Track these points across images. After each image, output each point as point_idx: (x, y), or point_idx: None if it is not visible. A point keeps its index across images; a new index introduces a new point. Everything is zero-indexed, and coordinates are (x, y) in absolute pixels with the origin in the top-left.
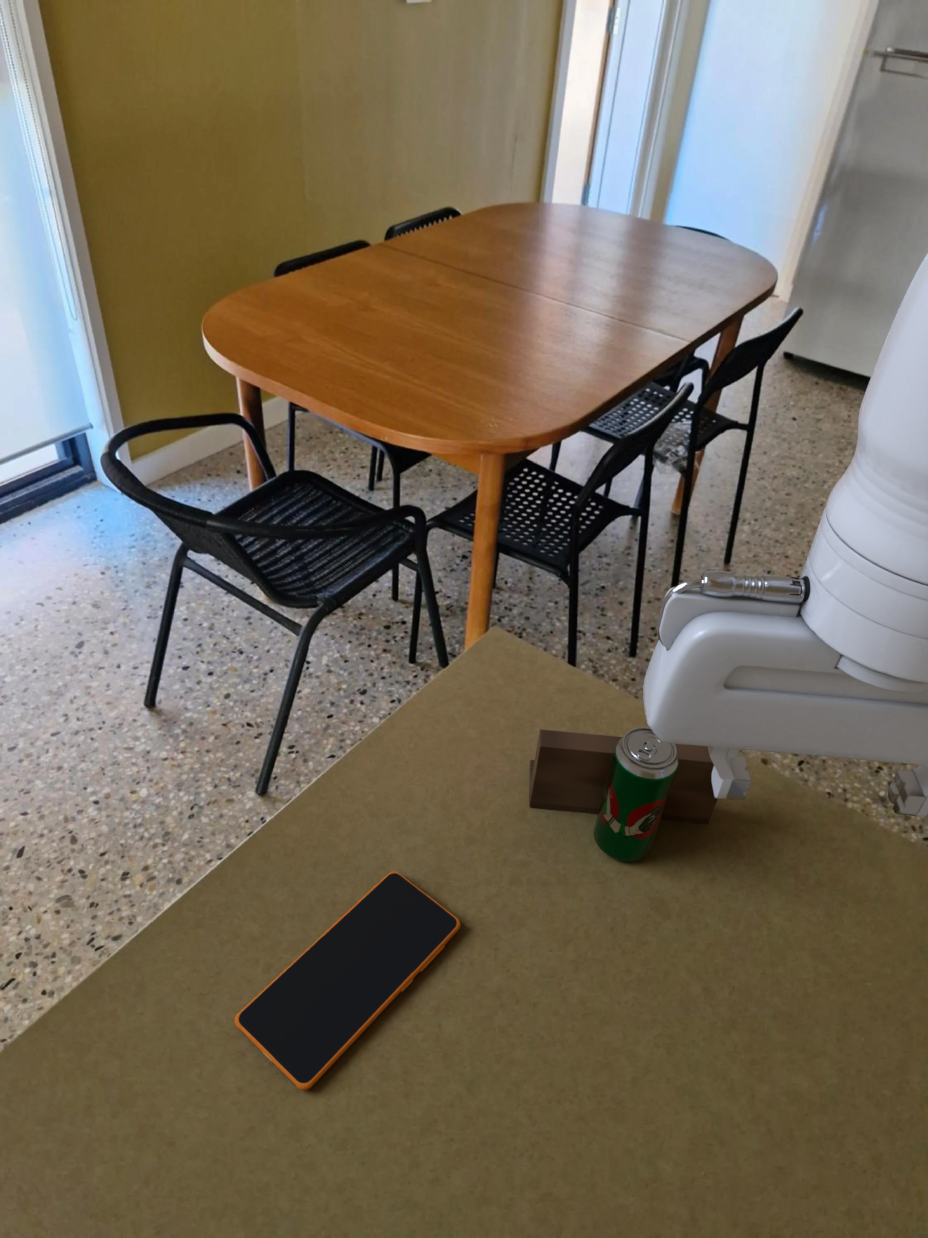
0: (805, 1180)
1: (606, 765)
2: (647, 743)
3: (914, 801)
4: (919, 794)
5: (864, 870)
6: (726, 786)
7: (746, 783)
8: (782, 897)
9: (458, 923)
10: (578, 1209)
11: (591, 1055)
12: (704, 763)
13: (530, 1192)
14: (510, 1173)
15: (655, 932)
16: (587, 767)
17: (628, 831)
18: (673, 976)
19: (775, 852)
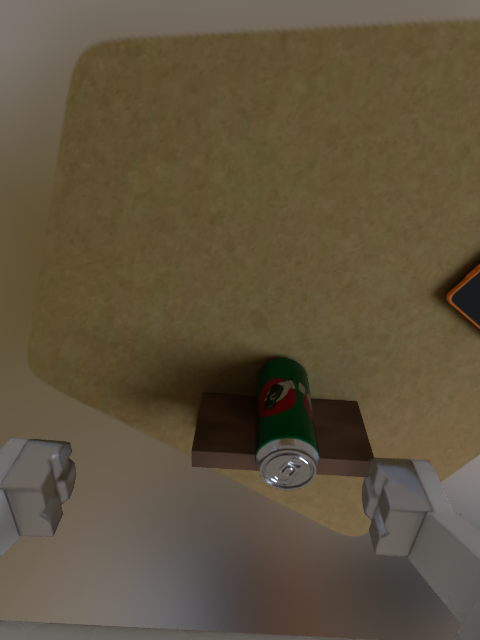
0: (172, 80)
1: None
2: (288, 474)
3: (28, 475)
4: (14, 493)
5: (72, 358)
6: (433, 492)
7: (397, 503)
8: (148, 332)
9: (449, 297)
10: (389, 41)
11: (347, 186)
12: (216, 450)
13: (431, 55)
14: (446, 72)
15: (266, 298)
16: (323, 441)
17: (291, 384)
18: (258, 260)
19: (147, 370)
